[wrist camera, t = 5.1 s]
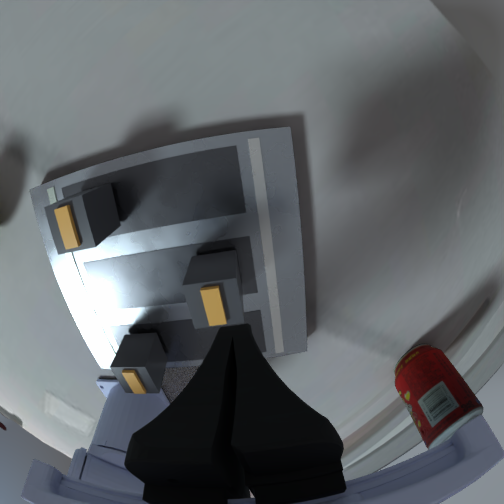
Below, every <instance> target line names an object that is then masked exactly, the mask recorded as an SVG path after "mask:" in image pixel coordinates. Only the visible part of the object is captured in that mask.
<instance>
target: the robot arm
mask: <svg viewBox="0 0 504 504" xmlns="http://www.w3.org/2000/svg"><path fill="white" fill-rule="evenodd" d="M96 383H97V385H98V387H99V388H100V389H101V391H102V392H103V394H104V395H105V397H106V398H107V400H106V402H105V405H104V408H103V411H102V413H101V416H100V419H99V422H98V425H97V428H96V431H95V434H94V437H93V440H92V443H91V445H90V447H89V449H88V451H87V449H85V448H82V447H81V448H80V449H76V450H75V452H74V455H73V458H72V461H71V465H70V468H69V471H68V474H67V476H66V475H64V474H62V473H61V472H60V471H59V470H57V469H56V468H55V467H53V466H51V465H49V464H47V463H44V462H41V461H39V460H37V459H33V462H32V464H31V467H30V470H29V473H28V476H27V479H26V482H25V485H24V488H23V491H22V494H21V497H22V498H23V499H25V500H26V501H28V502H30V503H31V504H439V503H441V502H443V501H445V500H446V499H448V498H450V497H451V496H453V495H455V494H456V493H458V492H460V491H461V490H463V489H464V488H466V487H467V486H469V485H470V484H472V483H473V482H475V481H476V480H477V479H479V478H480V477H481V476H482V475H484V474H485V473H486V472H488V471H489V470H490V469H491V468H492V467H494V466H495V465H496V464H497V463H498V462H499V461H501V460H502V459H503V458H504V450H503V449H502V447H501V445H500V443H499V442H498V440H497V438H496V437H495V435H494V433H493V432H492V430H491V428H490V427H489V425H488V423H487V422H486V420H485V419H484V417H483V416H482V415H479V416H477V417H476V418H474V419H472V420H471V421H469V422H468V423H466V424H464V425H463V426H461V427H460V428H459V429H457V430H456V431H455V432H454V434H453V435H452V437H451V439H449V440H447V441H445V442H443V443H441V444H440V445H438V446H436V447H434V448H432V449H430V450H428V451H426V452H424V453H421V454H420V455H417V456H415V457H413V458H410V459H409V460H406V461H403V462H401V463H399V464H396V465H394V466H391V467H389V468H386V469H383V470H380V471H378V472H375V473H372V474H369V475H366V476H363V477H359V478H356V479H353V480H349V481H346V482H345V480H344V476H343V472H342V471H343V467H342V463H341V456H342V453H343V449H344V447H343V442H342V440H341V438H340V436H339V434H338V433H337V431H336V430H335V428H334V427H333V425H332V424H331V423H330V421H329V420H328V419H327V418H326V417H324V416H322V415H321V414H319V413H318V412H317V411H315V410H314V409H312V408H311V407H310V406H309V405H307V404H306V403H305V402H303V401H302V400H301V399H300V398H299V397H298V396H297V395H296V394H295V393H294V392H292V391H291V390H290V389H289V388H288V387H287V386H286V385H285V383H284V382H283V381H282V380H281V379H280V378H279V377H278V375H277V374H276V373H275V372H274V370H273V369H272V368H271V366H270V365H269V363H268V362H267V361H266V359H265V357H264V356H263V354H262V352H261V351H260V349H259V347H258V345H257V343H256V341H255V339H254V337H253V334H252V329H251V325H250V324H248V323H247V324H240V325H233V326H226V327H220V328H219V329H218V332H217V334H216V337H215V339H214V341H213V343H212V345H211V347H210V349H209V351H208V353H207V355H206V357H205V358H204V360H203V362H202V364H201V365H200V367H199V368H198V370H197V372H196V373H195V375H194V376H193V378H192V379H191V380H190V382H189V383H188V384H187V386H186V387H185V388H184V389H183V391H182V392H181V393H180V394H179V395H178V396H177V397H176V399H175V400H174V401H173V402H172V403H171V404H170V402H169V401H168V399H167V397H166V395H165V393H164V392H163V390H162V388H161V389H160V393H146V394H134V393H126V392H125V391H124V389H123V388H122V386H121V385H120V383H119V381H118V380H107V379H97V381H96ZM86 451H87V452H86ZM249 489H250V490H249ZM250 491H251V492H252V494H253V495H254V497H255V498H251V497H250Z"/></svg>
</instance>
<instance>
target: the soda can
mask: <svg viewBox="0 0 504 504" xmlns="http://www.w3.org/2000/svg"><path fill="white" fill-rule="evenodd" d="M394 372H395V376H396V377H395V386H396V389H397V391H398V393H399V395H400V396H401V398H402V400H403V402H404V404H405V406H406V407H407V409H408V411H409V413H410V415H411V417H412V419H413V421H414V423H415V425H416V427H417V429H418V431H419V433H420V435H421V437H422V439H423V441H424V443H425V445H426V447H427V448H428V450H430V449H432V448H434V447H436V446H438V445H440V444H441V443H443V442H445V441H447V440H449V439H451V437H452V435H453V434H454V432H455V431H456V430H457V429H459V428H460V427H461V426H463V425H464V424H466V423H468V422H469V421H471V420H472V419H474V418H476V417H477V416H479V415H482V413H483V406H482V404H481V403H480V401H479V400H478V399H477V397H476V396H475V394H474V393H473V392H472V390H471V389H470V388H469V386H468V385H467V383H466V382H465V381H464V379H463V378H462V376H461V375H460V374H459V373H458V371H457V370H456V369H455V367H454V366H453V365H452V363H451V362H450V361H449V359H448V358H447V357H446V356H445V354H444V353H443V352H442V351H441V350H440V349H437V348H434V347H431V345H428V344H422V345H419V346H416V347H414V348H412V349H411V350H410V351H408V352H407V353H406V354H405V355H404V356H403V357H402V358H401V359H400V360H399V361H398V363H397V365H396V367H395V371H394Z"/></svg>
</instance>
